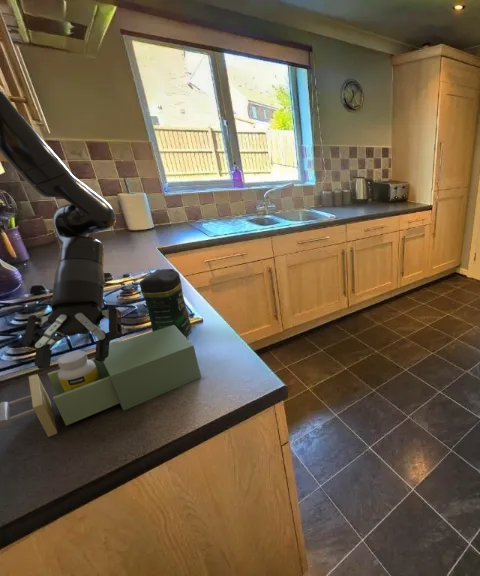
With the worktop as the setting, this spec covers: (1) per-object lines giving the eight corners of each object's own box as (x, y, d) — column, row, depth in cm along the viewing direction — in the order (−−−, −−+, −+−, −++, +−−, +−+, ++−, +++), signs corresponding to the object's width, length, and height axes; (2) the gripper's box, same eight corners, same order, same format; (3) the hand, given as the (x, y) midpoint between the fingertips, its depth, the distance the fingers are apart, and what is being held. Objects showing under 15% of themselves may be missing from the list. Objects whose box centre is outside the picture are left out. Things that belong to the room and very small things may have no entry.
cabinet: (123, 411, 65) (110, 376, 61) (109, 381, 73) (97, 348, 69) (201, 377, 75) (193, 345, 71) (181, 354, 83) (174, 324, 79)
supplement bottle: (76, 411, 62) (56, 369, 58) (65, 399, 65) (46, 358, 61) (110, 394, 66) (94, 354, 62) (99, 384, 69) (83, 345, 65)
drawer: (9, 453, 55) (-9, 423, 52) (7, 417, 62) (-9, 388, 59) (139, 398, 67) (129, 371, 64) (125, 373, 74) (116, 348, 71)
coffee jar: (184, 343, 87) (168, 279, 79) (151, 346, 85) (131, 280, 78) (196, 325, 95) (182, 265, 88) (166, 327, 94) (149, 266, 86)
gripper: (21, 282, 61) (7, 368, 56) (113, 275, 66) (108, 354, 61) (47, 296, 68) (37, 374, 63) (129, 289, 73) (126, 361, 67)
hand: (72, 364), depth 62 cm, fingers open, 8 cm apart
